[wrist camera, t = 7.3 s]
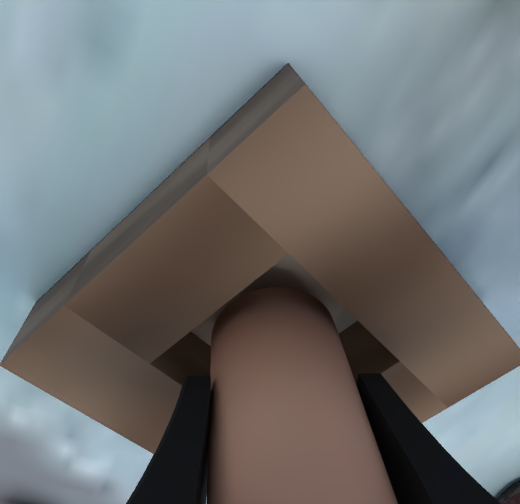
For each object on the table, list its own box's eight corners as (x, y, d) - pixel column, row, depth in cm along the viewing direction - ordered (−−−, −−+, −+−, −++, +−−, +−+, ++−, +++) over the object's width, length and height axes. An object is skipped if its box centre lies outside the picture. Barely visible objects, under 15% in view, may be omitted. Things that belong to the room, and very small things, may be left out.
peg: (359, 338, 15) (480, 633, 8) (268, 403, 16) (304, 711, 9) (280, 262, 13) (344, 548, 6) (184, 339, 15) (151, 655, 8)
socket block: (483, 303, 17) (529, 360, 15) (257, 449, 21) (262, 516, 18) (288, 62, 13) (305, 84, 10) (35, 302, 16) (-1, 365, 13)
